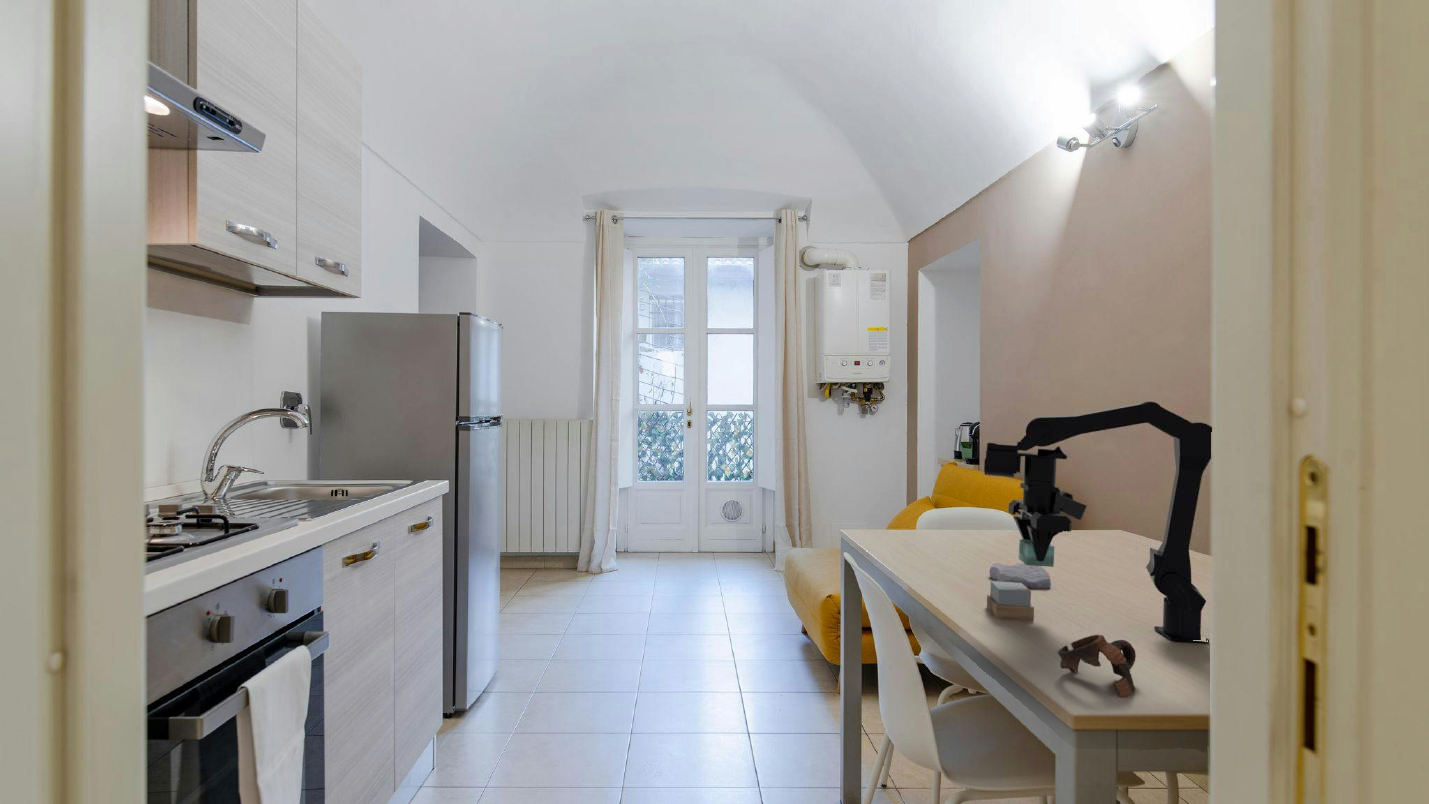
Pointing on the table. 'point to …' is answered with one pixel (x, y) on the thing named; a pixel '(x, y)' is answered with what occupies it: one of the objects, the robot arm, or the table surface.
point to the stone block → (1021, 575)
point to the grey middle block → (1010, 593)
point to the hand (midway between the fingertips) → (1035, 557)
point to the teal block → (1029, 555)
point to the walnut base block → (1010, 611)
